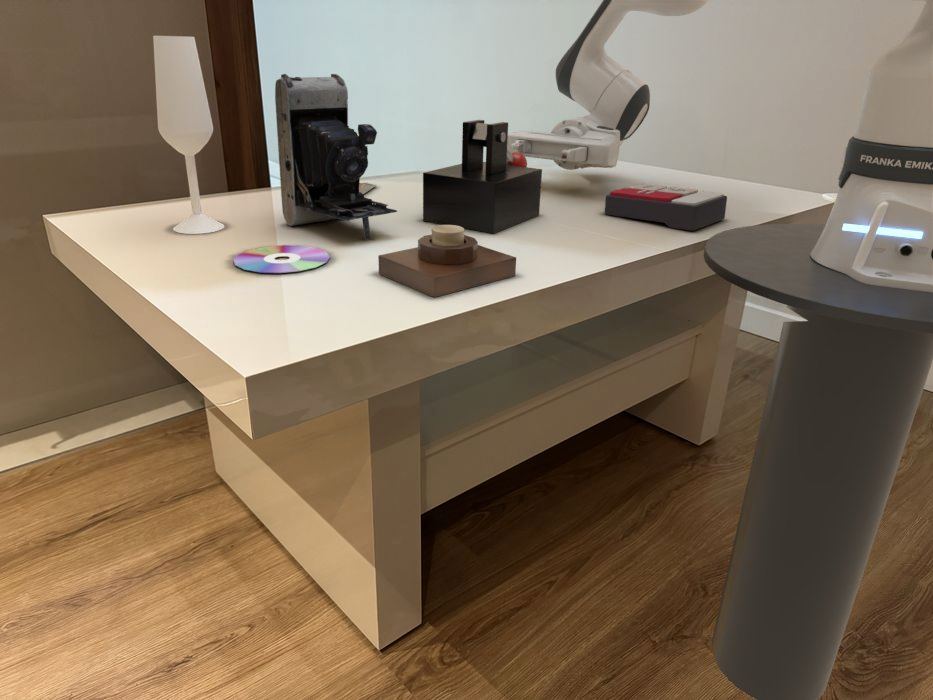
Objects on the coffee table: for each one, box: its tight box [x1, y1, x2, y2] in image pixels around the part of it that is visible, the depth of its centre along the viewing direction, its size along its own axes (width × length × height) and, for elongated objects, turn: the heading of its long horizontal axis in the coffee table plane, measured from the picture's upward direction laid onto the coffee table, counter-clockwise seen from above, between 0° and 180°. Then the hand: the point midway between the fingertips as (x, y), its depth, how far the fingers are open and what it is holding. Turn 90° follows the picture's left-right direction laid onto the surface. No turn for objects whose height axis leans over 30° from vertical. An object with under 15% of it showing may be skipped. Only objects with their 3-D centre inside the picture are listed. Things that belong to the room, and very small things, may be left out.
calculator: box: [604, 183, 728, 232], centre depth 108 cm, size 11×4×15 cm
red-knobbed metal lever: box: [472, 122, 528, 167], centre depth 106 cm, size 14×4×4 cm, turn 147°
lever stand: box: [422, 119, 543, 235], centre depth 103 cm, size 14×12×14 cm
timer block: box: [377, 233, 517, 298], centre depth 79 cm, size 12×10×4 cm
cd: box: [232, 244, 331, 274], centre depth 84 cm, size 11×11×1 cm
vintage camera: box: [274, 73, 398, 241], centre depth 93 cm, size 10×16×20 cm, turn 42°
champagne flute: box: [152, 35, 225, 235], centre depth 92 cm, size 7×7×24 cm
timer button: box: [431, 224, 465, 246], centre depth 78 cm, size 4×4×2 cm
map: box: [359, 182, 378, 195], centre depth 117 cm, size 5×20×1 cm, turn 169°
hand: (539, 152), depth 117 cm, fingers open, 8 cm apart
